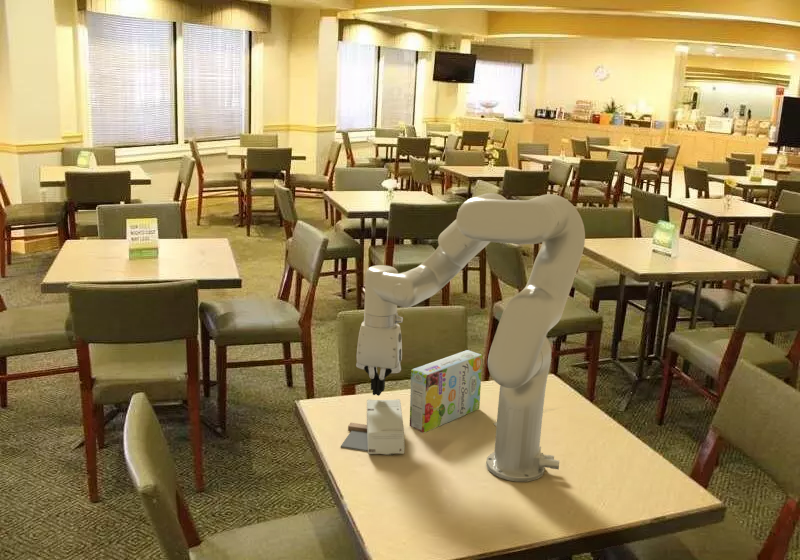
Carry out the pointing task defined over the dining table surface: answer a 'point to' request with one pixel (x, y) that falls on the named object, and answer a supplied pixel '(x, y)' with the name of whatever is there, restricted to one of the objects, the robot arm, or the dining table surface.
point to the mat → (357, 441)
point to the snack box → (445, 390)
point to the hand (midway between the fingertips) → (377, 392)
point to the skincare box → (385, 427)
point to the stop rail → (357, 427)
